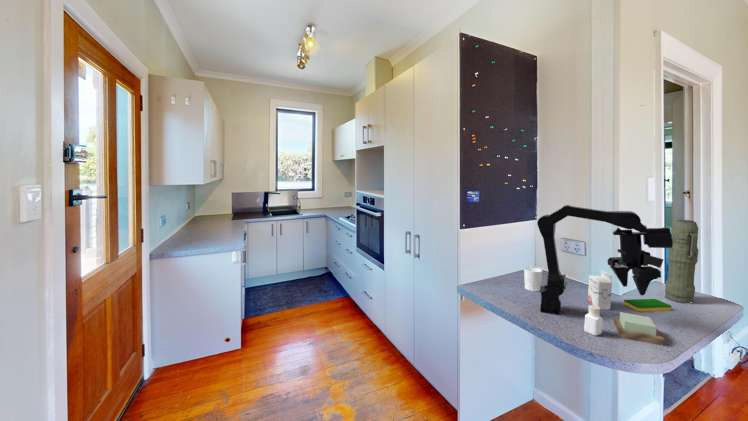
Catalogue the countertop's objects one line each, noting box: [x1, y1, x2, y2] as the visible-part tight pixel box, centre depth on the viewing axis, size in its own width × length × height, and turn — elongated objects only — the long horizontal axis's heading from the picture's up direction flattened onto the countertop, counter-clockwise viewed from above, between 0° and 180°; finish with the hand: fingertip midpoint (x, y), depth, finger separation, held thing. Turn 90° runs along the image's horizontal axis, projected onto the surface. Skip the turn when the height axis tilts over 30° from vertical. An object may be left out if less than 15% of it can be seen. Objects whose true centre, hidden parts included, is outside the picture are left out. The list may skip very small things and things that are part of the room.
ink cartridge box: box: [587, 269, 613, 310], centre depth 123 cm, size 9×5×15 cm, turn 168°
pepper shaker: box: [583, 304, 604, 337], centre depth 102 cm, size 4×4×10 cm
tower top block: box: [619, 311, 658, 336], centre depth 101 cm, size 8×8×3 cm
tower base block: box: [613, 317, 665, 347], centre depth 101 cm, size 11×11×3 cm
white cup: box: [523, 266, 543, 292], centre depth 143 cm, size 8×8×10 cm
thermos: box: [664, 219, 699, 304], centre depth 126 cm, size 9×12×35 cm
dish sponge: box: [623, 298, 672, 312], centre depth 122 cm, size 7×14×2 cm, turn 91°
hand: (633, 290), depth 104 cm, fingers open, 9 cm apart
